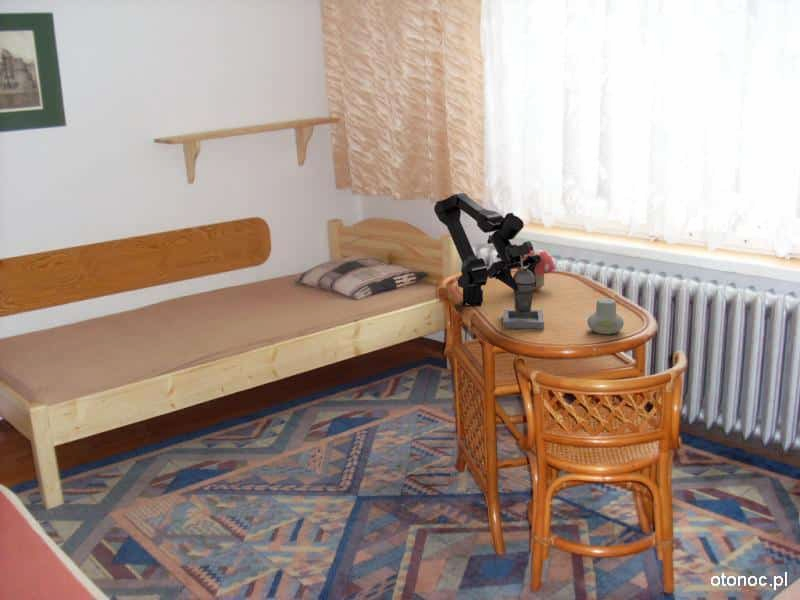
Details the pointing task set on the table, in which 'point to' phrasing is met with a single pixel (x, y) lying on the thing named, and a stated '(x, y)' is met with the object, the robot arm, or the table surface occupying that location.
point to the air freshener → (605, 317)
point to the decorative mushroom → (541, 266)
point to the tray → (523, 320)
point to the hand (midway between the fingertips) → (526, 288)
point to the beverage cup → (523, 292)
